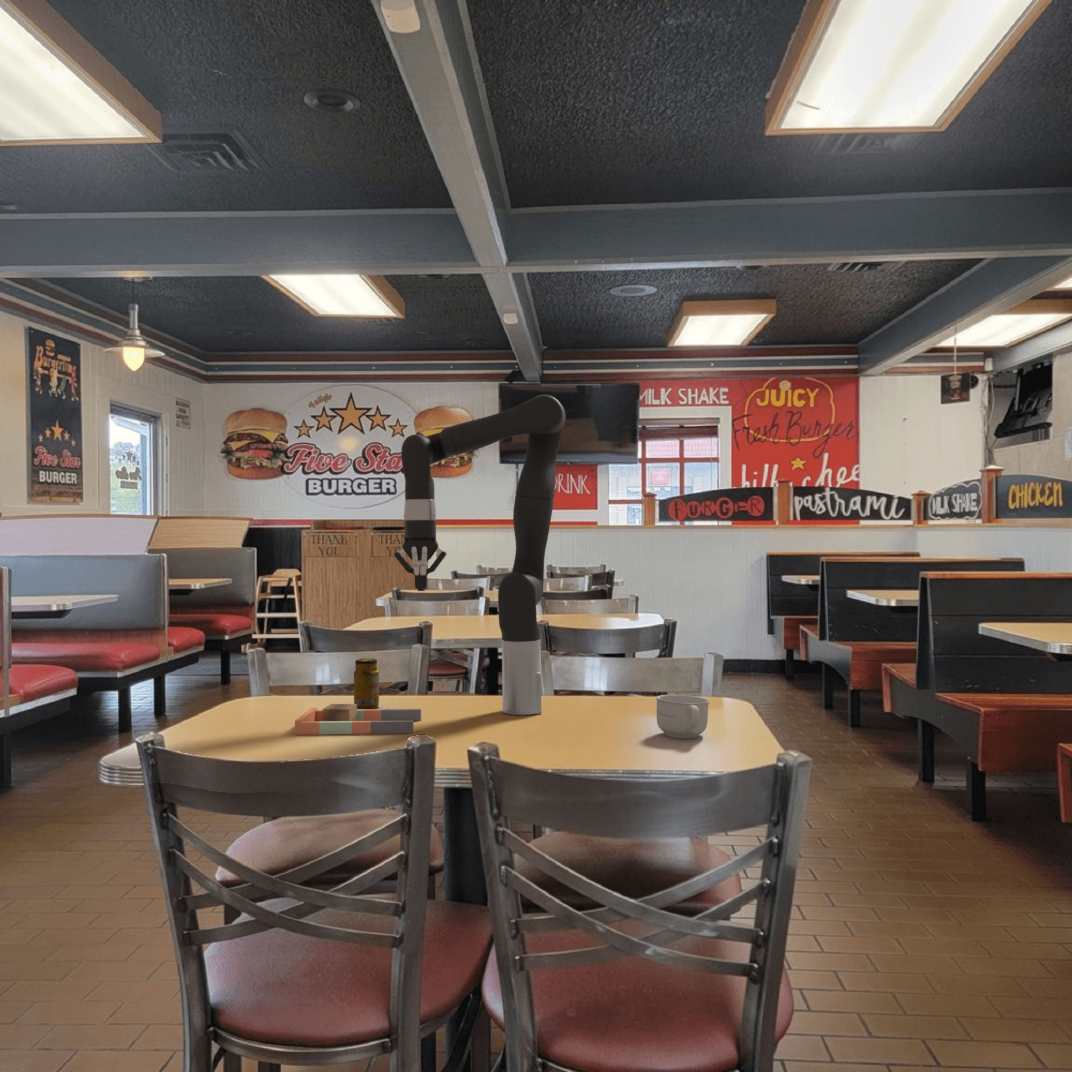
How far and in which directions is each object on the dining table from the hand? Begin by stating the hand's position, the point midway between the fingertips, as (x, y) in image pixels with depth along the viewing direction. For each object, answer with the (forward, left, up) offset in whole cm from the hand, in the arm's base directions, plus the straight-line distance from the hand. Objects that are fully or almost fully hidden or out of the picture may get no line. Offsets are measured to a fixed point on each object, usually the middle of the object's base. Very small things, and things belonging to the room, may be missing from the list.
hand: (421, 590), depth 205 cm
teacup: (-58, +29, -29) cm, 71 cm away
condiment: (+14, -4, -29) cm, 33 cm away
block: (+16, +15, -29) cm, 37 cm away
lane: (+11, +16, -29) cm, 35 cm away
